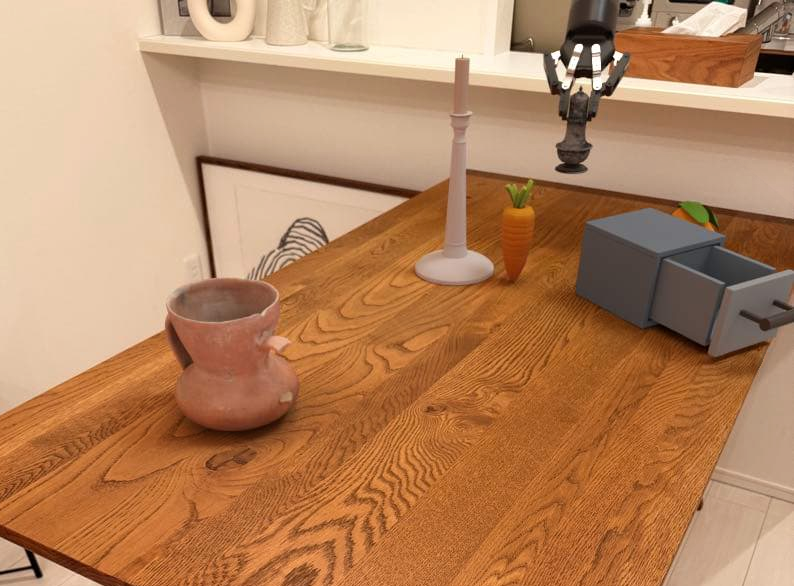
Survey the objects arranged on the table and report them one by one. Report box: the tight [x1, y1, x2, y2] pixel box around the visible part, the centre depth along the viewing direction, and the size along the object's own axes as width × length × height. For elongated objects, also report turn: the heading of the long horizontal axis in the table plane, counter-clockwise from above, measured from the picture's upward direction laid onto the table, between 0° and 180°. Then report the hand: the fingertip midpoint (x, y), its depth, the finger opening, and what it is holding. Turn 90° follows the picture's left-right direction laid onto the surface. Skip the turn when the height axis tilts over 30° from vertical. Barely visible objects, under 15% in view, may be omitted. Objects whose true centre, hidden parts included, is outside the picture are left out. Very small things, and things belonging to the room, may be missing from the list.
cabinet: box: [574, 207, 727, 330], centre depth 111 cm, size 15×13×11 cm
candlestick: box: [414, 54, 495, 286], centre depth 115 cm, size 13×13×30 cm
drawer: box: [648, 244, 794, 358], centre depth 100 cm, size 18×11×9 cm, turn 29°
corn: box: [671, 200, 720, 232], centre depth 125 cm, size 7×8×20 cm
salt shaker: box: [554, 84, 594, 175], centre depth 121 cm, size 6×6×12 cm
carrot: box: [501, 179, 536, 283], centre depth 116 cm, size 5×5×15 cm
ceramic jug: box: [164, 277, 300, 432], centre depth 87 cm, size 18×14×14 cm
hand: (576, 117), depth 118 cm, fingers closed on salt shaker, 3 cm apart
